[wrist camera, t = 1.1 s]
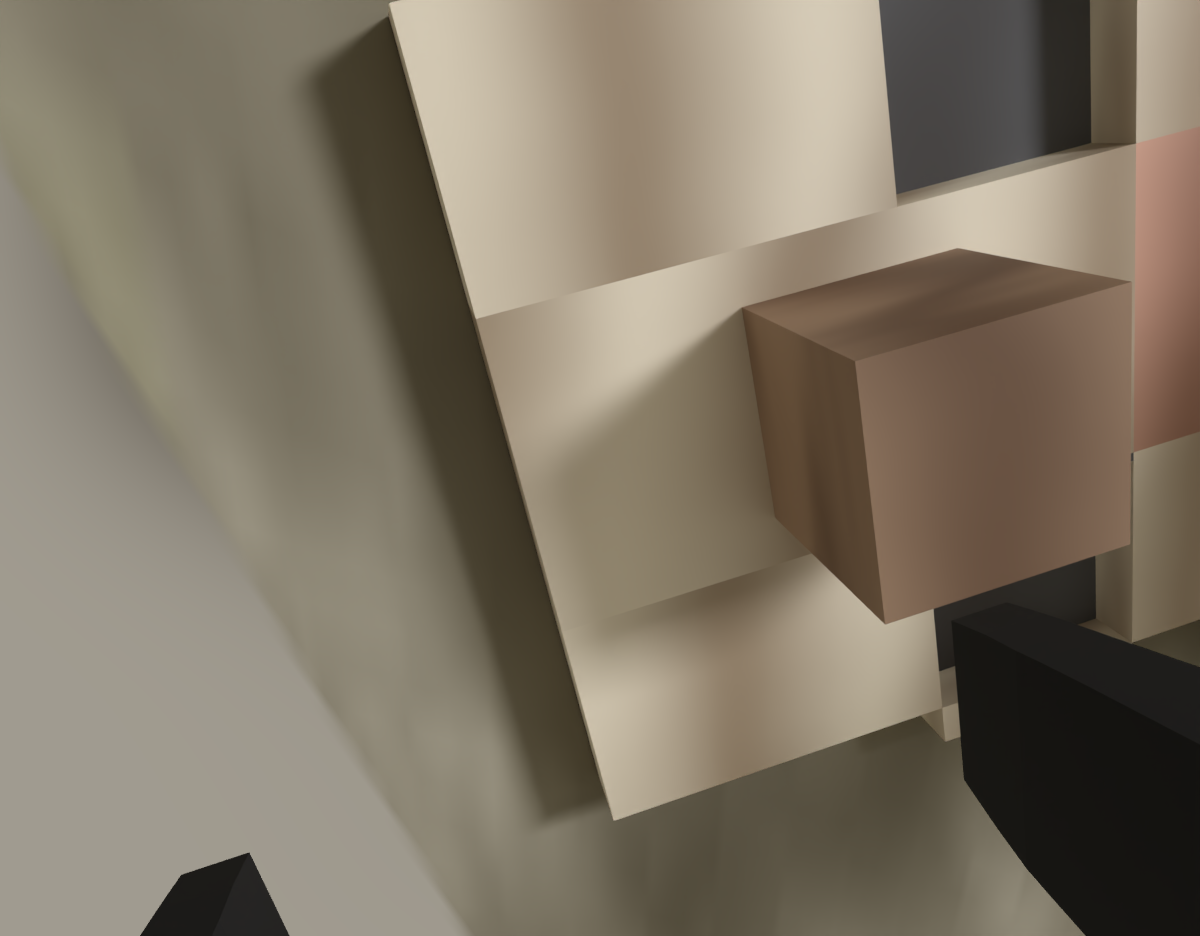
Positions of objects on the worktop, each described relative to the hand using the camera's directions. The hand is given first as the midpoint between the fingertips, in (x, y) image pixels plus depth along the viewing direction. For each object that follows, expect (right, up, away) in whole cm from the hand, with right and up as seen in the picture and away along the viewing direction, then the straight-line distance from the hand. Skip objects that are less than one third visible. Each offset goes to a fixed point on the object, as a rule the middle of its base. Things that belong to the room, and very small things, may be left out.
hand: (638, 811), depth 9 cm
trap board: (+7, +6, +11) cm, 14 cm away
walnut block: (+5, +5, +9) cm, 11 cm away
